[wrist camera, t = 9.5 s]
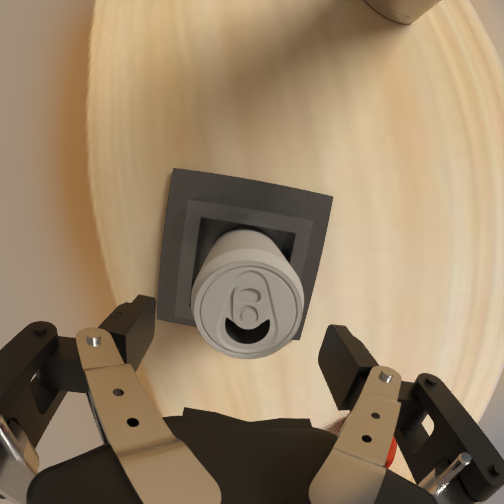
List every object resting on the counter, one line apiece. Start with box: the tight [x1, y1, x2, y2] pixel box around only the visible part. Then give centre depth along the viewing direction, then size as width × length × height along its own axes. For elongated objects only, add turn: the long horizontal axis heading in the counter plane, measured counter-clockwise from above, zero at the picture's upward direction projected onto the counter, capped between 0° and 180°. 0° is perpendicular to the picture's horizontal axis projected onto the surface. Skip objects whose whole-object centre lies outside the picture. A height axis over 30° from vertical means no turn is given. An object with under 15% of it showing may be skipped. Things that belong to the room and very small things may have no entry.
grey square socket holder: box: [157, 168, 333, 340], centre depth 24 cm, size 15×15×4 cm
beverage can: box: [191, 227, 304, 359], centre depth 20 cm, size 6×6×12 cm
